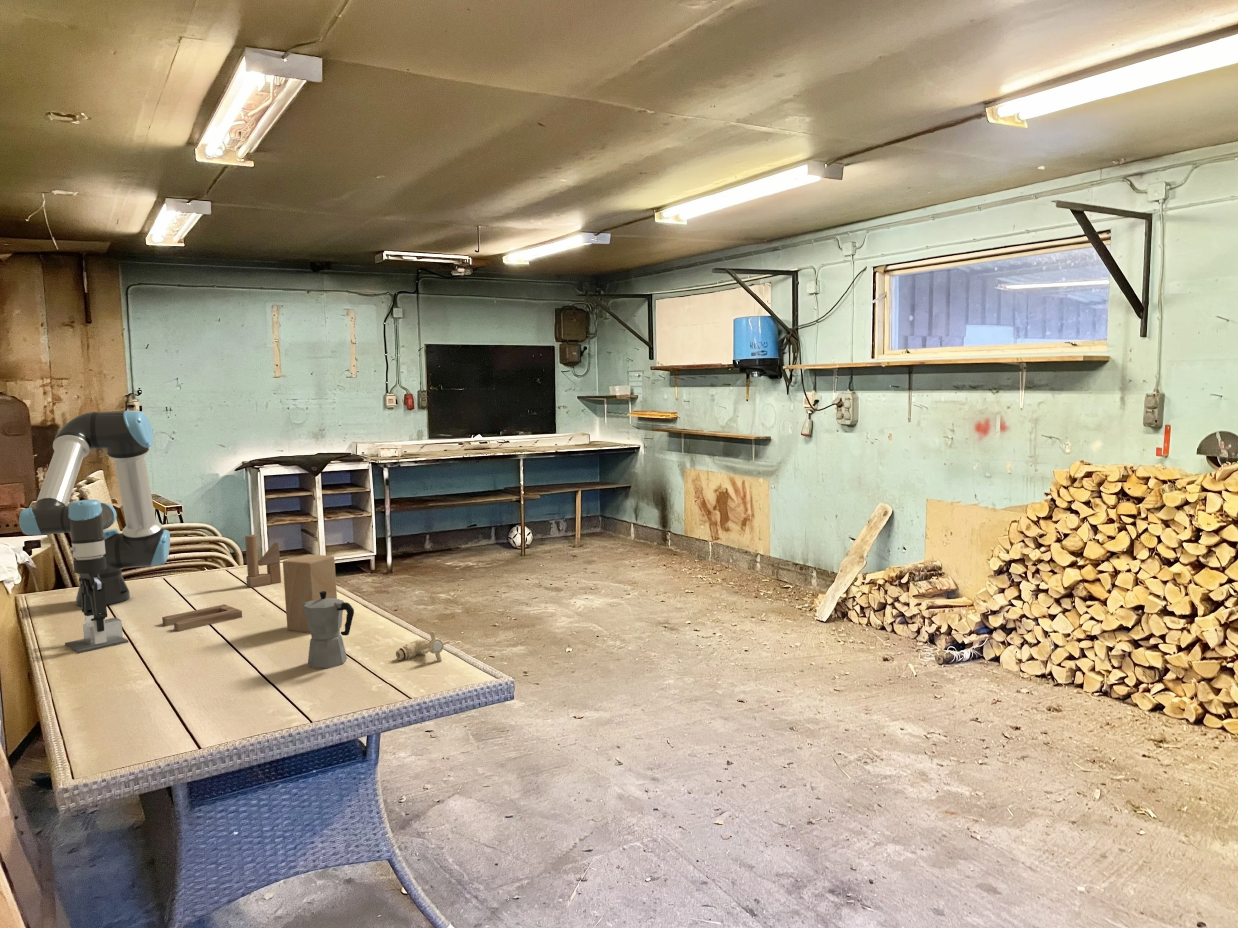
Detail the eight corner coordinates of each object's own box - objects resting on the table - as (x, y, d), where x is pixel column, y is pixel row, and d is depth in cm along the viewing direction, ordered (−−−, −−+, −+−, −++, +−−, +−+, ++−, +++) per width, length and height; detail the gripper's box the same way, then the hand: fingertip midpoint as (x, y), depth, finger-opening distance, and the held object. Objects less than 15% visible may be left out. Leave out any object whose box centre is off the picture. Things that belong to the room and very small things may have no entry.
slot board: (162, 623, 249) (162, 617, 248) (224, 610, 262) (224, 604, 262) (178, 631, 240) (178, 624, 240) (242, 617, 253) (241, 610, 253)
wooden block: (339, 624, 242) (334, 555, 241) (313, 633, 233) (308, 562, 232) (313, 620, 247) (308, 553, 245) (286, 630, 238) (281, 560, 236)
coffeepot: (292, 666, 206) (287, 594, 204) (319, 654, 215) (315, 585, 213) (343, 672, 200) (338, 598, 199) (369, 659, 209) (364, 588, 207)
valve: (454, 655, 209) (419, 670, 202) (429, 656, 217) (395, 670, 210) (446, 626, 208) (411, 639, 202) (421, 627, 217) (387, 640, 210)
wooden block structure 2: (281, 582, 299) (278, 532, 297) (250, 588, 291) (246, 536, 290) (277, 580, 301) (274, 531, 300) (246, 586, 294) (242, 535, 292)
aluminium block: (84, 642, 230) (82, 624, 230) (116, 634, 236) (114, 617, 236) (90, 644, 227) (89, 626, 227) (122, 637, 234) (121, 619, 233)
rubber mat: (65, 644, 230) (64, 642, 230) (113, 634, 239) (113, 632, 239) (78, 653, 222) (78, 651, 222) (128, 642, 231) (128, 640, 231)
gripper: (63, 556, 232) (70, 638, 234) (84, 562, 219) (92, 650, 221) (94, 551, 237) (101, 632, 239) (116, 558, 224) (123, 643, 226)
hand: (96, 640), depth 230 cm, fingers open, 6 cm apart
